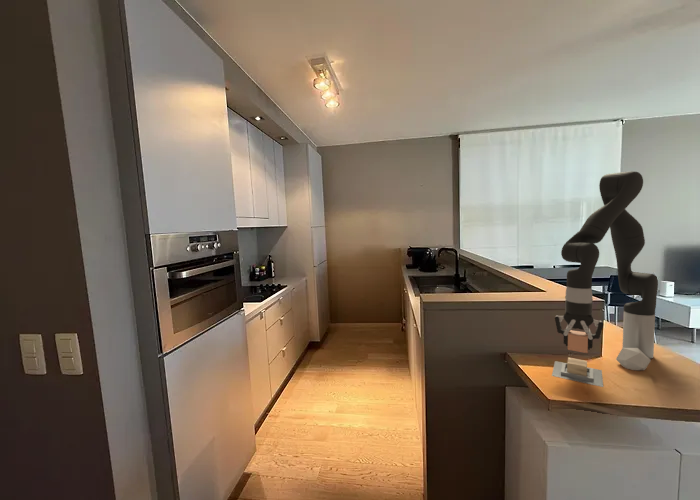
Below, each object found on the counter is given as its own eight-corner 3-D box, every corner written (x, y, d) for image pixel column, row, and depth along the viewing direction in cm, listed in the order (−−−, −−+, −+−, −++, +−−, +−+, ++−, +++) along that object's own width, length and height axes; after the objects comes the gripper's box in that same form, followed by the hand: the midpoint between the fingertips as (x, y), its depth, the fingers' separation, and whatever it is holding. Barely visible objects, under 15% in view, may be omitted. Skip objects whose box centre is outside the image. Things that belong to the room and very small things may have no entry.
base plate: (555, 364, 120) (555, 358, 120) (601, 373, 111) (601, 367, 111) (551, 379, 109) (551, 372, 109) (603, 390, 100) (603, 384, 100)
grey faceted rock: (650, 380, 107) (659, 355, 109) (623, 365, 109) (633, 341, 111) (632, 377, 115) (641, 354, 117) (607, 364, 117) (617, 341, 119)
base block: (567, 367, 114) (568, 357, 114) (586, 371, 111) (587, 360, 110) (567, 373, 110) (567, 363, 109) (586, 378, 106) (587, 366, 106)
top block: (568, 344, 113) (568, 329, 113) (587, 347, 110) (587, 332, 109) (567, 349, 109) (568, 334, 108) (587, 353, 105) (587, 337, 105)
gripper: (604, 300, 107) (603, 348, 108) (554, 295, 115) (554, 340, 117) (605, 304, 101) (604, 355, 102) (553, 299, 109) (552, 346, 111)
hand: (577, 347), depth 109 cm, fingers closed on top block, 5 cm apart
